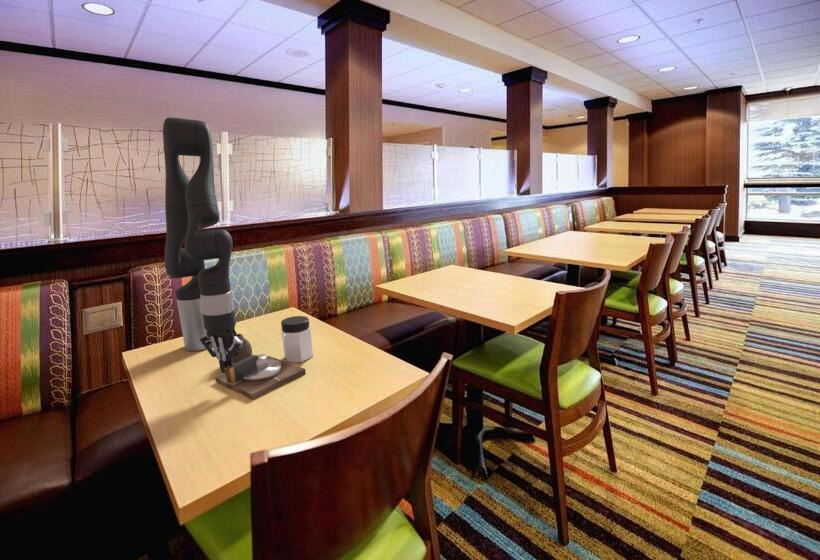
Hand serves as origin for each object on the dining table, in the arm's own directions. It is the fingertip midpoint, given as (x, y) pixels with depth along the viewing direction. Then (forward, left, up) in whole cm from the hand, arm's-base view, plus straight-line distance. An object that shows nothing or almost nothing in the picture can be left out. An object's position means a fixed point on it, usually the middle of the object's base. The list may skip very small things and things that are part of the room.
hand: (226, 372), depth 112 cm
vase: (-12, +11, -5) cm, 18 cm away
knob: (+2, +6, -3) cm, 7 cm away
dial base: (+2, +8, -5) cm, 10 cm away
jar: (0, +23, -5) cm, 24 cm away
